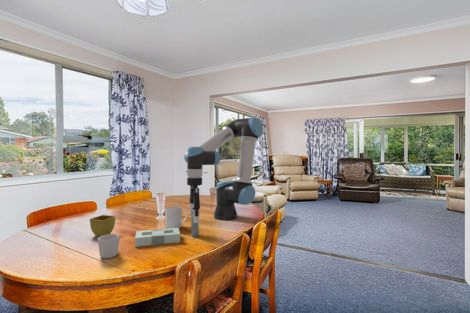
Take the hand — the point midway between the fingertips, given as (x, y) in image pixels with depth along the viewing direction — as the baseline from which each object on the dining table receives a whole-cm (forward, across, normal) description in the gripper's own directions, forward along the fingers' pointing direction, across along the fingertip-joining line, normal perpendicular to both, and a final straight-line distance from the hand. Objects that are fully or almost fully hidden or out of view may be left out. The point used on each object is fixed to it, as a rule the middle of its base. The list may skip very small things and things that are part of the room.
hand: (194, 219), depth 128 cm
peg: (+9, 0, 0) cm, 9 cm away
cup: (+10, +13, -36) cm, 40 cm away
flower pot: (+9, -15, -44) cm, 48 cm away
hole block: (+9, +2, -18) cm, 20 cm away
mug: (+9, -17, -8) cm, 21 cm away
